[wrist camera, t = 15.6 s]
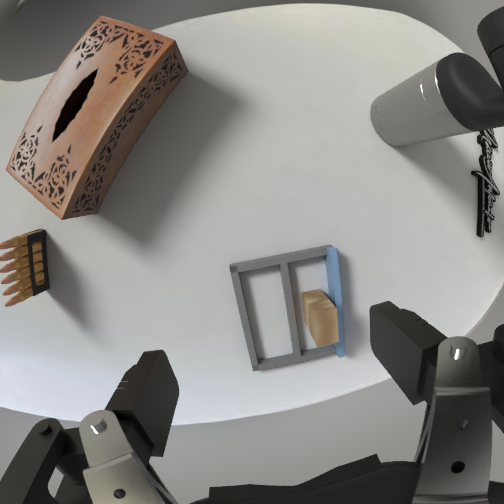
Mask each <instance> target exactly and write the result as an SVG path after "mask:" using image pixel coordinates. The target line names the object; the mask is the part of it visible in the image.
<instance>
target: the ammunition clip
mask: <svg viewBox="0 0 504 504" xmlns="http://www.w3.org/2000/svg"><path fill="white" fill-rule="evenodd" d="M26 244H27V245H26ZM19 246H20V247H19ZM12 247H14V249H13V250H11V251H9V252H7V253H4V254H3V255H1V256H0V261H7V260H11V259H15V260H14V261H13V262H10V263H9V264H6V265H5V266H3V267H2V268H1V269H0V272H1V273H6V272H10V271H13V270H16V271H15V272H14V273H12V274H10V275H8V276H7V277H5V278H4V279H3V280H2V281H1V284H8V283H11V282H14V281H16V280H19V281H17V282H16V283H15V284H13V285H12V286H10V287H9V288H7V289H6V290H5V291H4V292H3V295H11V294H13V293H16V292H18V291H20V292H19V293H18V294H16V295H15V296H14V297H12V298H10V299H9V300H8V301H7V302H6V304H5V306H6V307H8V306H12V305H15V304H16V303H19V302H22V301H24V300H26V299H28V298H29V297H31V296H35V295H37V294H39V293H41V292H43V291H45V290H48V289H49V288H50V286H49V277H48V267H47V255H46V235H45V230H42V229H38V230H35V231H32V232H29V233H26V234H23V235H20V236H16V237H13V238H12V239H10V240H7V241H4V242H2V243H0V249H8V248H12ZM15 247H17V248H15ZM16 258H18V259H16ZM20 268H21V269H20ZM17 269H18V270H17Z"/></svg>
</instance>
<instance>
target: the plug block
mask: <svg viewBox="0 0 504 504" xmlns="http://www.w3.org/2000/svg"><path fill="white" fill-rule="evenodd" d="M301 294H302V302H303V310H304V319H305V323H306V325H307V327H308V329H309V331H310V333H311V335H312V337H313V339H314V341H315V343H316V345H317V347H320V346H324V345H328V344H332V343H336V342H339V337H338V319H337V309H336V307H335V306H334V305H333V304H332V303H331V301H330V300H329V299H328V298H327V297H326V295H325V294H324V293H323V292H322V291H321V289H317V290H313V291H308V292H303V293H301Z"/></svg>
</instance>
